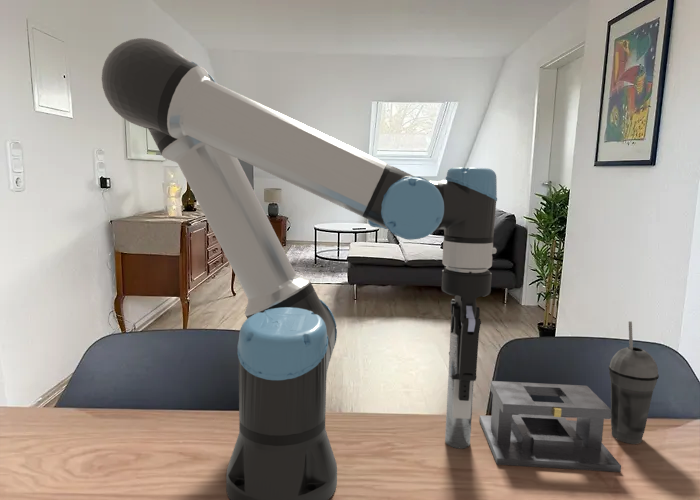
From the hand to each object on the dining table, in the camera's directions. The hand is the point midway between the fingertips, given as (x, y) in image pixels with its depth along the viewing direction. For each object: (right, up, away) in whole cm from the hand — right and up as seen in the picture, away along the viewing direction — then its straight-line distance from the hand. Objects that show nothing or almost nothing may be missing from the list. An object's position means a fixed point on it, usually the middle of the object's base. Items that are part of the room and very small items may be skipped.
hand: (459, 410), depth 79 cm
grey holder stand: (+14, -6, +1) cm, 15 cm away
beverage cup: (+29, -6, +4) cm, 30 cm away
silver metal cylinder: (0, -5, +1) cm, 5 cm away
